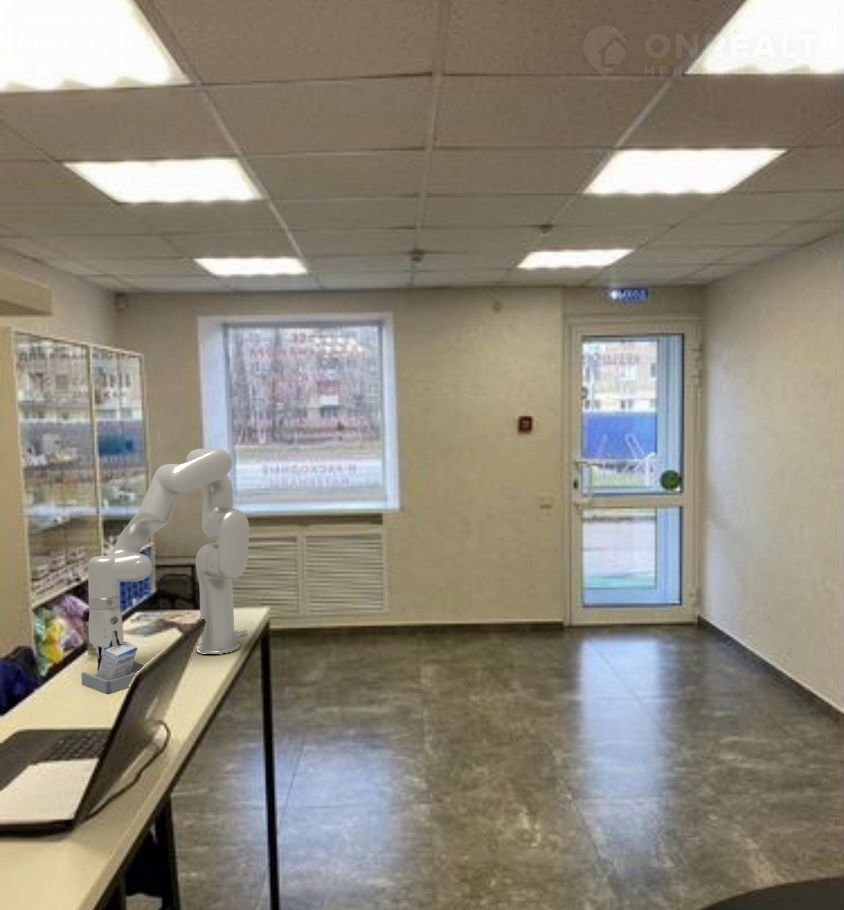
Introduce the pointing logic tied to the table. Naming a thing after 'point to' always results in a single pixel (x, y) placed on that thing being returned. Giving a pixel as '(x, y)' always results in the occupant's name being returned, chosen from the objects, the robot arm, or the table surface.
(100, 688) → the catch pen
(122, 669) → the medicine box
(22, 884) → the table surface
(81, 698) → the table surface
